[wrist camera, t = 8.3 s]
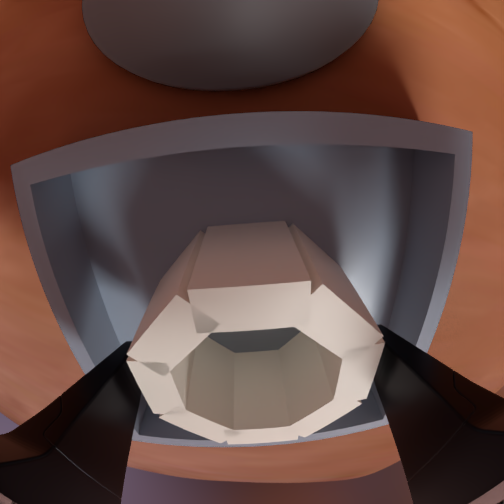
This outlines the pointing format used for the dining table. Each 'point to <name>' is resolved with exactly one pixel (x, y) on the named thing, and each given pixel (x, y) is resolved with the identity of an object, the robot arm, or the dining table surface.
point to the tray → (241, 212)
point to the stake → (225, 38)
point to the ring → (254, 318)
